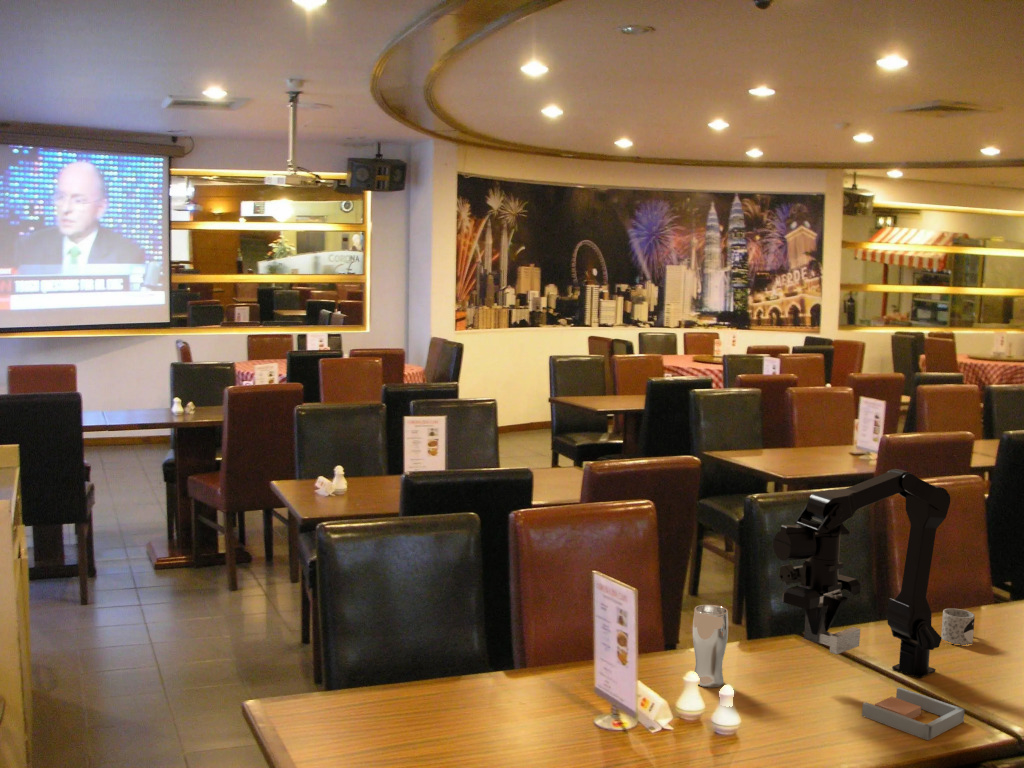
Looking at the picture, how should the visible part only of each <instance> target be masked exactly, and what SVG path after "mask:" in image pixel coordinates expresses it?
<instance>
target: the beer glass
mask: <svg viewBox="0 0 1024 768" xmlns="http://www.w3.org/2000/svg"><path fill="white" fill-rule="evenodd" d="M728 614H729V611H728V609H727V608H726V607H723V606H720V605H717V604H716V605H714V604H700V605H696V606H695V607H694V613H693V619H692V620H693V621H692V641H693V643H692V644H693V650H694V656H695V657H694V659H695V667H694V672H696V673H697V674H698V676H699V678H700V684H699V685H700V686H699V687H701V686H702V688H706V687H708V688H709V689H714V688H715V689H717V688H720V687H722V686H723V685H724V684H725V682H724V676H723V662H724V656H725V654H726V652H725V651H726V648H727V644H728V638H729V636H728V635H729V615H728ZM708 688H707V689H708Z"/></svg>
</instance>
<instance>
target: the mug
mask: <svg viewBox="0 0 1024 768" xmlns="http://www.w3.org/2000/svg"><path fill="white" fill-rule="evenodd" d="M975 616H976V615H975V613H973V612H972V611H969V610H966V609H960V608H945V609H943V610H942V621H941V622H942V623H941V635H940V636H941V638H942V639H943V640H945V641H948V642H951V643H953V644H960V645H966V644H967V645H968V644H972V643H973V644H974V632H975V631H974V630H975V618H976V617H975Z"/></svg>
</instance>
